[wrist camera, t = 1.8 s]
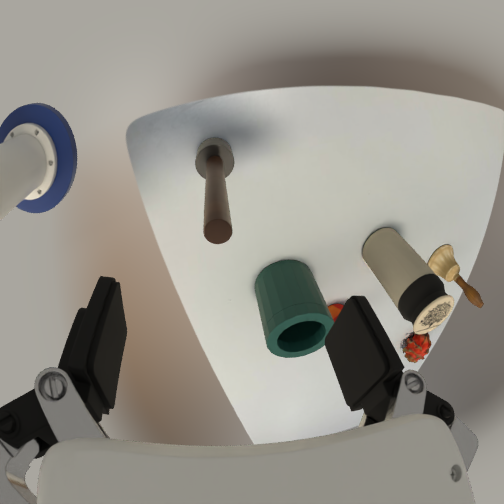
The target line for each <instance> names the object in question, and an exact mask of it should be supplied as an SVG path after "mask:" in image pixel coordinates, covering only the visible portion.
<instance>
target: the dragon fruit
mask: <svg viewBox="0 0 504 504" xmlns="http://www.w3.org/2000/svg"><path fill="white" fill-rule="evenodd" d="M406 343H407V347H404V349H403V354H404V352H405V353H406V354H405V358H408V359H407V360H408V361H409V362H414V363H416V362H417V361H418V360H419V359H422V360H423V359H424V355H426V354H428V353H429V348H430V346H431V341H430V340H429V334H428V332H427V333H425V334H416V333H415V334H414V337H413V338H411V339H410V338H407V341H406Z"/></svg>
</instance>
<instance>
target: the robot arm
mask: <svg viewBox="0 0 504 504" xmlns="http://www.w3.org/2000/svg"><path fill="white" fill-rule="evenodd" d="M56 172H57V152H56V148H55V145H54V142H53V140H52V138H51V136H50V135H49V134H48V132H47V131H46V130H45V129H44V128H43V127H41V126H39V125H38V124H34V123H24V124H21V125H19V126H16V127H15V128H14V129H12V130H11V131H10V132H9V134H8V135H7V137H6V138H5V140H4V142H3V143H1V144H0V221H1V220H2V219H3V218H4V217H5V216H6V215H7V214H8V213H9V212H10V211H11V210H12V209H13V208H14V207H16V206H17V205H18V204H19V203H20V202H21V201H22V200H23V199H26V200H34V199H37V198H39V197H41V196H42V195H44V194H45V193H46V192H47V191H48V190H49V188H50V187H51V186H52V184H53V182H54V179H55V176H56ZM126 336H127V327H126V321H125V315H124V309H123V303H122V296H121V289H120V283H119V282H116V281H115V278H111V277H103V276H101V277H100V278H99V280H98V282H97V284H96V287H95V289H94V291H93V294H92V297H91V299H90V301H89V304H88V306H87V308H80V309H79V310H78V312H77V315H76V317H75V320H74V323H73V325H72V328H71V330H70V333H69V336H68V338H67V341H66V344H65V347H64V350H63V353H62V356H61V359H60V362H59V366H58V368H54V367H50V368H47V369H44V370H43V371H42V372H40V374H39V375H38V376H37V378H36V380H35V389H33V390H31V391H29V392H28V393H26V394H24V395H22V396H20V397H19V398H17V399H15V400H13V401H11V402H10V403H8V404H6V405H4V406H3V407H1V408H0V504H475V500H474V496H473V492H472V488H471V484H470V481H469V478H468V474H467V471H468V469H469V467H470V465H471V462H472V460H473V458H474V455H475V453H476V451H477V448H478V439H477V437H476V436H475V434H473V432H472V431H471V430H469V428H468V427H467V426H466V425H465V424H464V423H463V422H462V421H461V420H460V419H459V418H458V417H455V418H454V410H453V408H452V407H451V405H450V404H449V403H448V402H447V401H445V400H443V399H441V398H440V397H437V396H436V395H434V394H432V393H430V392H429V391H427V390H426V389H427V386H426V381H425V379H424V378H423V376H422V375H421V374H420V373H418V372H417V371H414V370H407V371H405V372H404V373H403V372H402V370H403V369H404V366H403V364H402V362H401V360H400V358H399V356H398V354H397V352H396V350H395V348H394V347H393V345H392V343H391V341H390V339H389V337H388V335H387V334H386V332H385V330H384V328H383V326H382V325H381V323H380V321H379V319H378V318H377V316H376V314H375V312H374V311H373V309H372V307H371V306H370V304H369V302H368V300H367V299H366V297H364V296H351V297H350V299H348V300H347V301H346V303H345V304H344V306H343V308H342V310H341V312H340V313H339V315H338V317H337V319H336V320H335V322H334V324H333V326H332V327H331V329H330V331H329V332H328V334H327V336H326V337H325V346H326V349H327V352H328V354H329V357H330V360H331V363H332V365H333V368H334V371H335V373H336V376H337V379H338V382H339V384H340V387H341V390H342V393H343V396H344V399H345V401H346V404H347V405H348V406H350V409H351V411H356V410H361V409H362V408H363V410H364V414H363V416H362V419H361V422H360V424H359V427H358V428H356V429H352V430H348V431H344V432H339V433H335V434H330V435H325V436H319V437H314V438H308V439H301V440H294V441H287V442H278V443H269V444H257V445H240V446H187V445H169V444H156V443H146V442H137V441H128V440H118V439H110V438H109V436H108V435H107V433H106V432H105V430H104V429H103V427H102V426H101V424H100V423H99V422H100V421H101V420H102V414H109V409H113V408H114V405H115V398H116V390H117V384H118V378H119V373H120V367H121V361H122V356H123V351H124V346H125V341H126ZM44 455H45V456H44ZM42 456H44V458H43V460H42V464H41V467H40V472H39V478H38V486H37V497H36V496H35V495H34V494H33V493H32V492H31V491H30V490H29V489H28V487H27V485H26V483H25V474H26V472H27V470H28V469H29V468H30V466H29V464H30V463H31V462H32V460H33V459H34V458H36V459H37V458H40V457H42Z"/></svg>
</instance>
